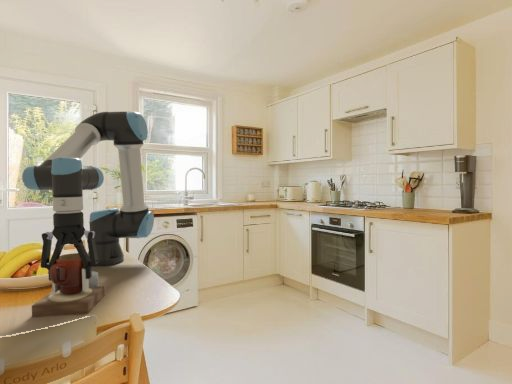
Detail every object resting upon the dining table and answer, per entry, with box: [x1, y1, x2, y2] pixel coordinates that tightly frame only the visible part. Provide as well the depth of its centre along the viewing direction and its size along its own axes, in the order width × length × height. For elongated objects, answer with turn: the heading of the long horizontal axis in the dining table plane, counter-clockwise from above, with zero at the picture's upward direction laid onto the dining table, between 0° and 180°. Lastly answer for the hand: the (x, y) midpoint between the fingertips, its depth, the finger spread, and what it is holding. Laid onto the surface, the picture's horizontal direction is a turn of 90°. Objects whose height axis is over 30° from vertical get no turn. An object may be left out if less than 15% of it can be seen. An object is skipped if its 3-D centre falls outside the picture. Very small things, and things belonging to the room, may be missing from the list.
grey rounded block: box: [89, 270, 99, 287], centre depth 112 cm, size 7×7×4 cm
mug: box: [50, 252, 89, 294], centre depth 94 cm, size 12×9×10 cm
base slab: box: [31, 285, 105, 318], centre depth 94 cm, size 14×14×3 cm
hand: (70, 290), depth 94 cm, fingers closed on mug, 7 cm apart
